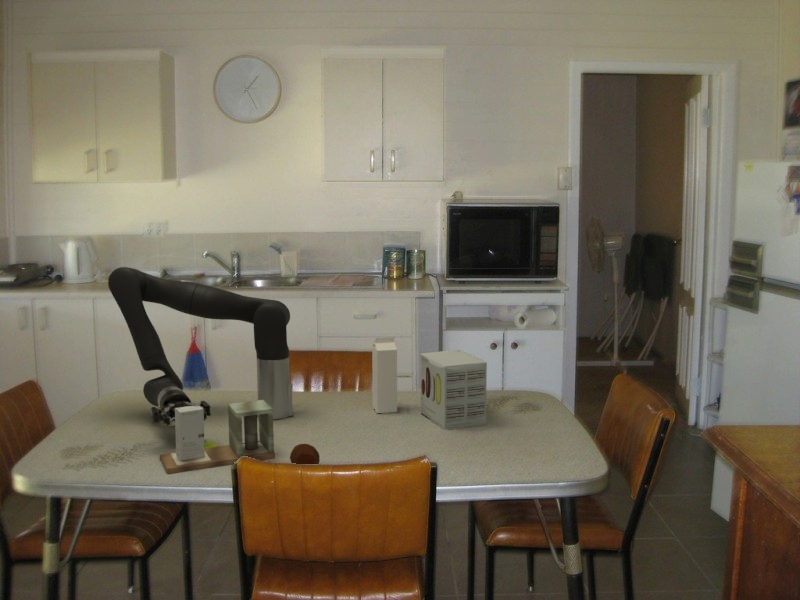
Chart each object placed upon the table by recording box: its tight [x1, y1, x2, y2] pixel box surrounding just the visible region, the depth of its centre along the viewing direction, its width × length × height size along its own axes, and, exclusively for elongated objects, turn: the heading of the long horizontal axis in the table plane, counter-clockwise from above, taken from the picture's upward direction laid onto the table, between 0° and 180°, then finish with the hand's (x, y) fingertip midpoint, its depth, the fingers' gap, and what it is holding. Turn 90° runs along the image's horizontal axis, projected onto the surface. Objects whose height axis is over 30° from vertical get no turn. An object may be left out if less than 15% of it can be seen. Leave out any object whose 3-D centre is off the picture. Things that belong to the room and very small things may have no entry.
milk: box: [371, 336, 398, 414], centre depth 242 cm, size 6×6×22 cm
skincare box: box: [174, 404, 206, 461], centre depth 199 cm, size 6×4×12 cm
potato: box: [289, 443, 320, 464], centre depth 195 cm, size 7×9×6 cm
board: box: [159, 399, 276, 475], centre depth 202 cm, size 26×11×12 cm, turn 115°
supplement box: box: [420, 349, 488, 430], centre depth 234 cm, size 17×13×18 cm
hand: (186, 419), depth 204 cm, fingers open, 8 cm apart
